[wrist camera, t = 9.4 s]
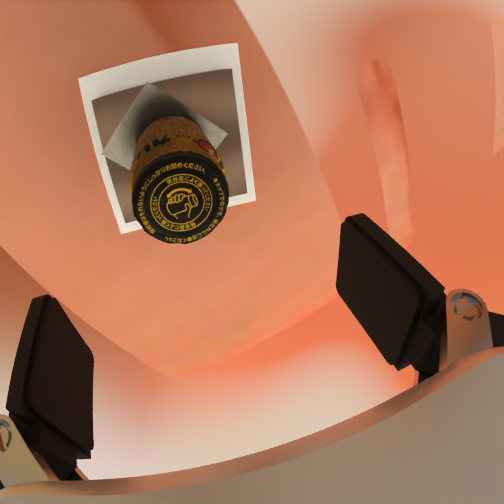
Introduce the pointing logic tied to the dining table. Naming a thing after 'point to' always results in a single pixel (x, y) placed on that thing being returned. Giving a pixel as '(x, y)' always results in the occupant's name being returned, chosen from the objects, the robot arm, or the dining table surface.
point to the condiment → (171, 167)
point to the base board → (157, 71)
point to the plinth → (195, 97)
